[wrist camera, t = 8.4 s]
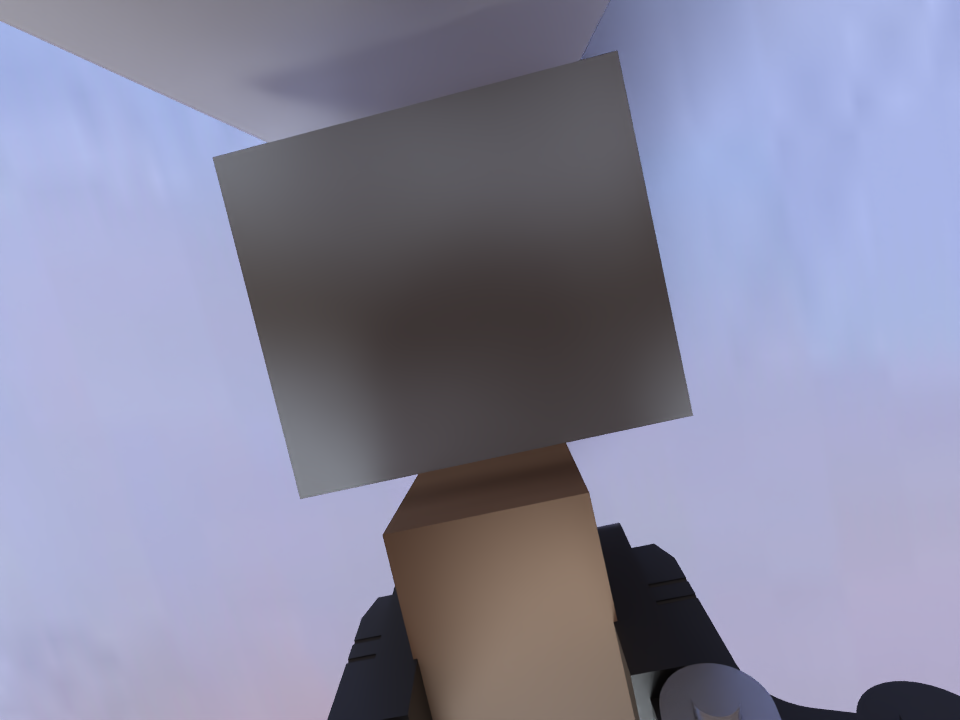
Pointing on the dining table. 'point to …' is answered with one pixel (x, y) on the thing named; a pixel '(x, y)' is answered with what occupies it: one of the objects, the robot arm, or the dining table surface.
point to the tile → (311, 50)
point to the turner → (470, 361)
